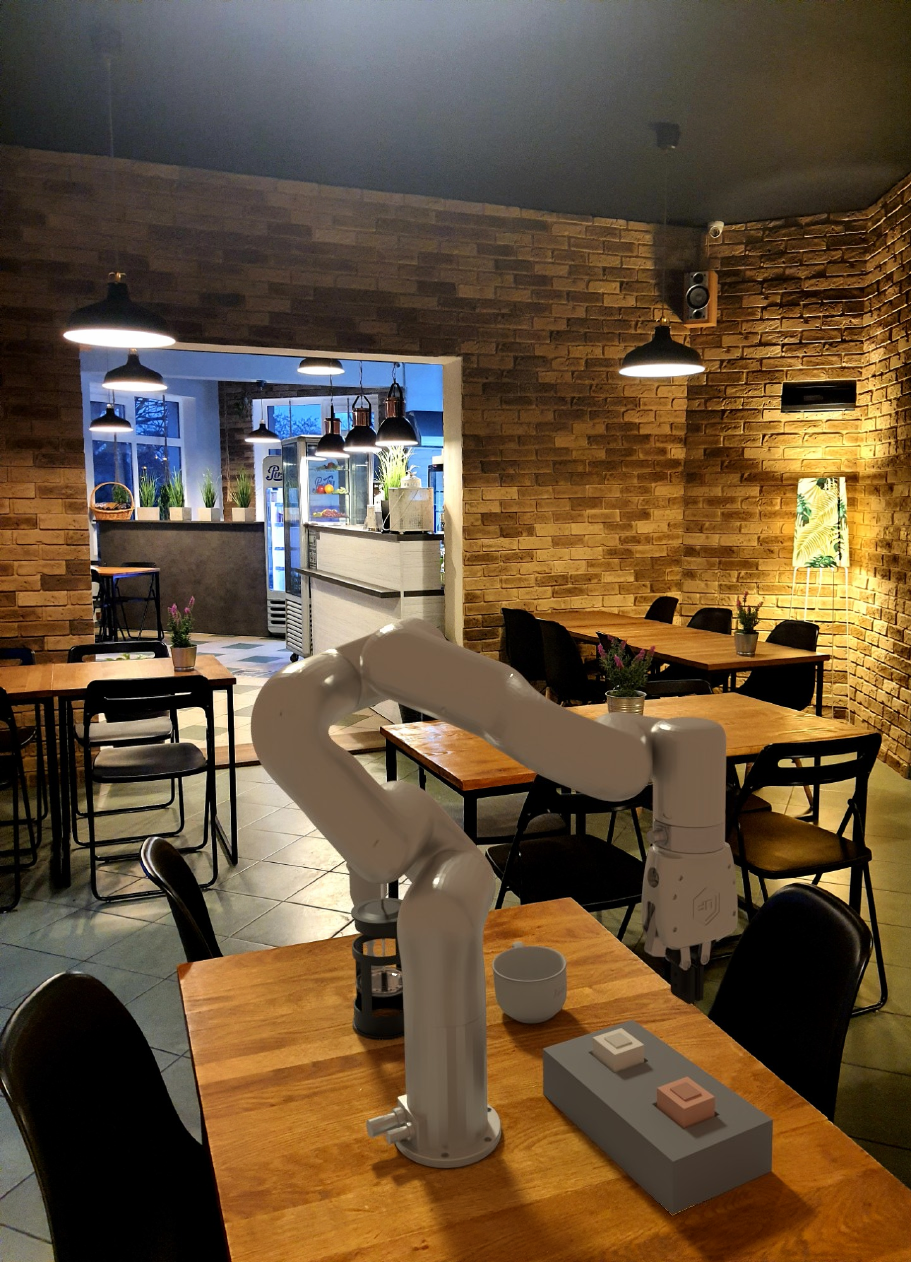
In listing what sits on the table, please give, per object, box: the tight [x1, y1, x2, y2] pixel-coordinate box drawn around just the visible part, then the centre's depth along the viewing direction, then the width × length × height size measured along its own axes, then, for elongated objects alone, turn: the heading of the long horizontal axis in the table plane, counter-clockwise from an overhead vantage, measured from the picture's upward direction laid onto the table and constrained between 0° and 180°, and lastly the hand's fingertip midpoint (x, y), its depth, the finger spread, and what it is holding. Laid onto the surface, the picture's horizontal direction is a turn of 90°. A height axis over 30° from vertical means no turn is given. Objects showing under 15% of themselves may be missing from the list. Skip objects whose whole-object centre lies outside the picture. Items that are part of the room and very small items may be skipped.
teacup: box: [491, 941, 568, 1024], centre depth 138 cm, size 14×11×8 cm
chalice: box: [345, 862, 388, 976], centre depth 149 cm, size 7×7×18 cm
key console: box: [542, 1019, 774, 1215], centre depth 109 cm, size 14×24×6 cm, turn 28°
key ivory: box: [593, 1028, 644, 1073], centre depth 114 cm, size 4×4×3 cm
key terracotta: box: [657, 1077, 715, 1130], centre depth 104 cm, size 4×4×3 cm
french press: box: [350, 884, 404, 1041], centre depth 133 cm, size 12×9×23 cm
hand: (686, 996), depth 102 cm, fingers closed
